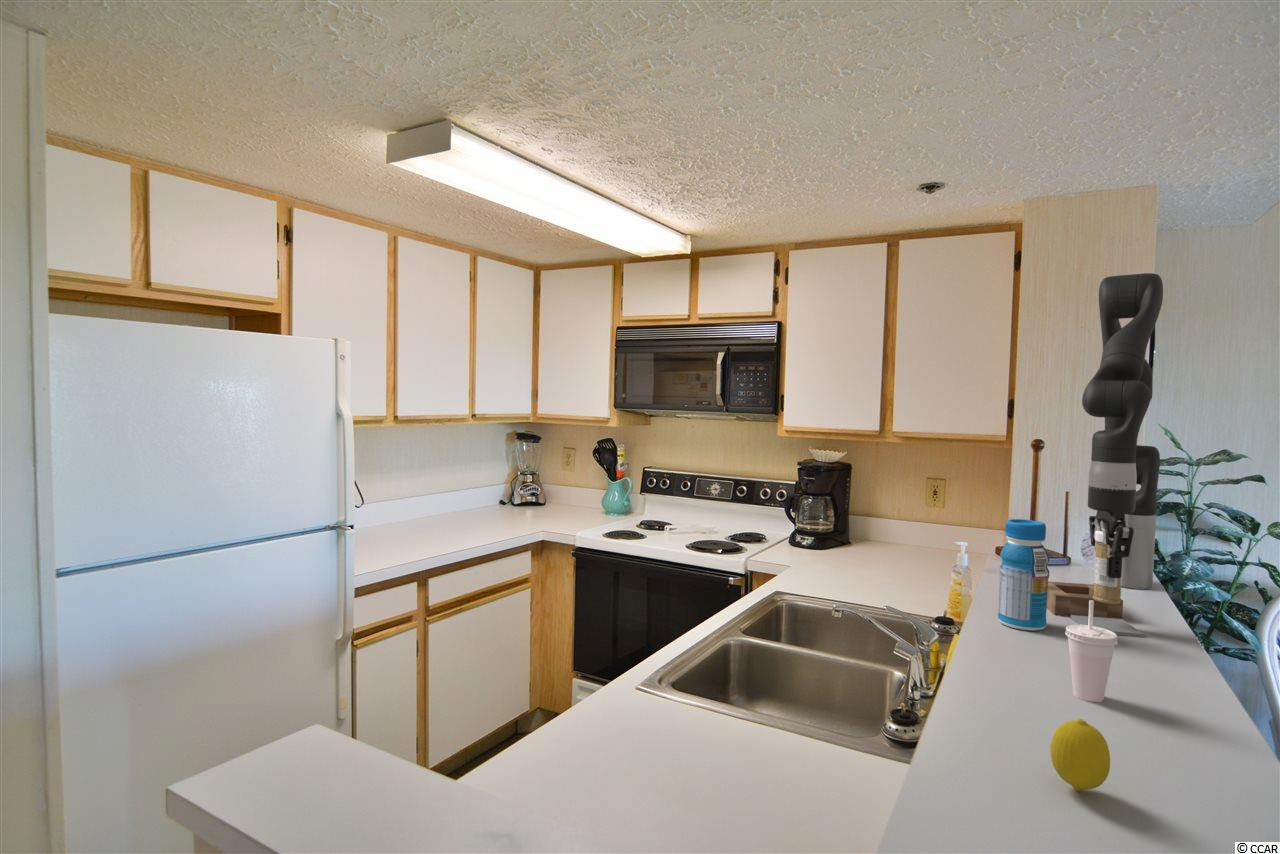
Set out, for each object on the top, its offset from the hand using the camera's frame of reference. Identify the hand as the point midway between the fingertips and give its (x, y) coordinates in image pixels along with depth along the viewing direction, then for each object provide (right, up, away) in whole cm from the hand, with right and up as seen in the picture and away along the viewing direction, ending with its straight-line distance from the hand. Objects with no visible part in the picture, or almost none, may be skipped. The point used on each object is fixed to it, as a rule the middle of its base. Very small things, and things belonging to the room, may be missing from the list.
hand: (1108, 573), depth 132 cm
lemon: (-41, -12, -56) cm, 71 cm away
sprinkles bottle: (0, -5, 0) cm, 5 cm away
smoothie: (-24, -11, -31) cm, 41 cm away
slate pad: (0, -10, 0) cm, 10 cm away
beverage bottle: (-16, -10, +1) cm, 19 cm away
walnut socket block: (+1, -10, +12) cm, 15 cm away
